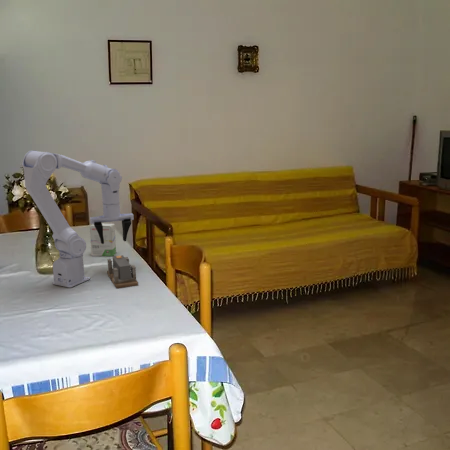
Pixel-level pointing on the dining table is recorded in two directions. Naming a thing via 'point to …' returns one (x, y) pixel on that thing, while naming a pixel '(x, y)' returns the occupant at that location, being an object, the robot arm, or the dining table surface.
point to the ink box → (109, 241)
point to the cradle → (115, 279)
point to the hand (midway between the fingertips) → (113, 241)
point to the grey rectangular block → (122, 267)
